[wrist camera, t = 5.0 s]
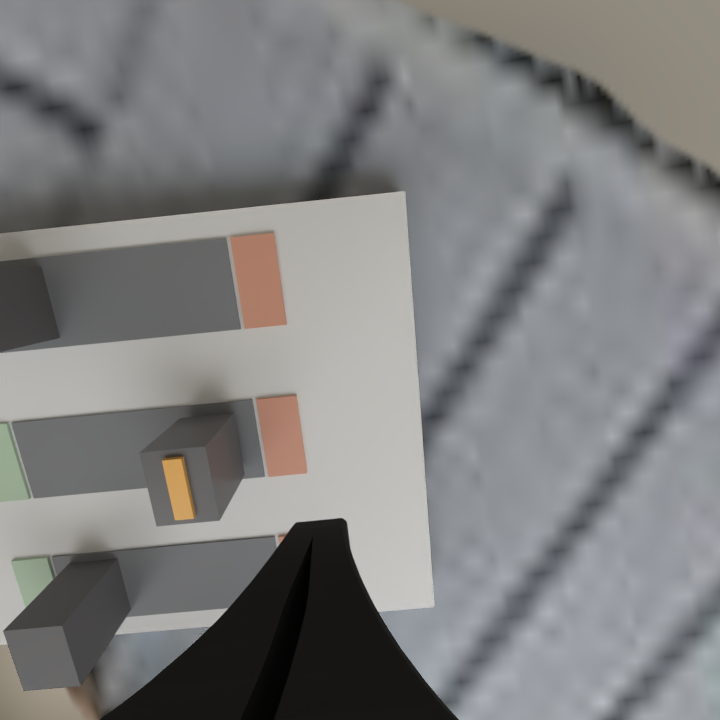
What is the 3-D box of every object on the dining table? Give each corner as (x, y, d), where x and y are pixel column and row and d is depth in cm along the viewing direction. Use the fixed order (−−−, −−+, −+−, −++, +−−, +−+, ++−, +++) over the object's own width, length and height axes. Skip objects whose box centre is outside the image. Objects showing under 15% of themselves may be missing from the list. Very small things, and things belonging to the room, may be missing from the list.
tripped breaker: (244, 474, 19) (217, 523, 15) (192, 479, 19) (153, 529, 15) (234, 413, 18) (203, 448, 15) (180, 418, 18) (136, 455, 15)
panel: (429, 584, 23) (451, 684, 17) (-38, 626, 23) (-158, 735, 18) (401, 197, 18) (419, 167, 13) (-174, 257, 19) (-389, 253, 13)
